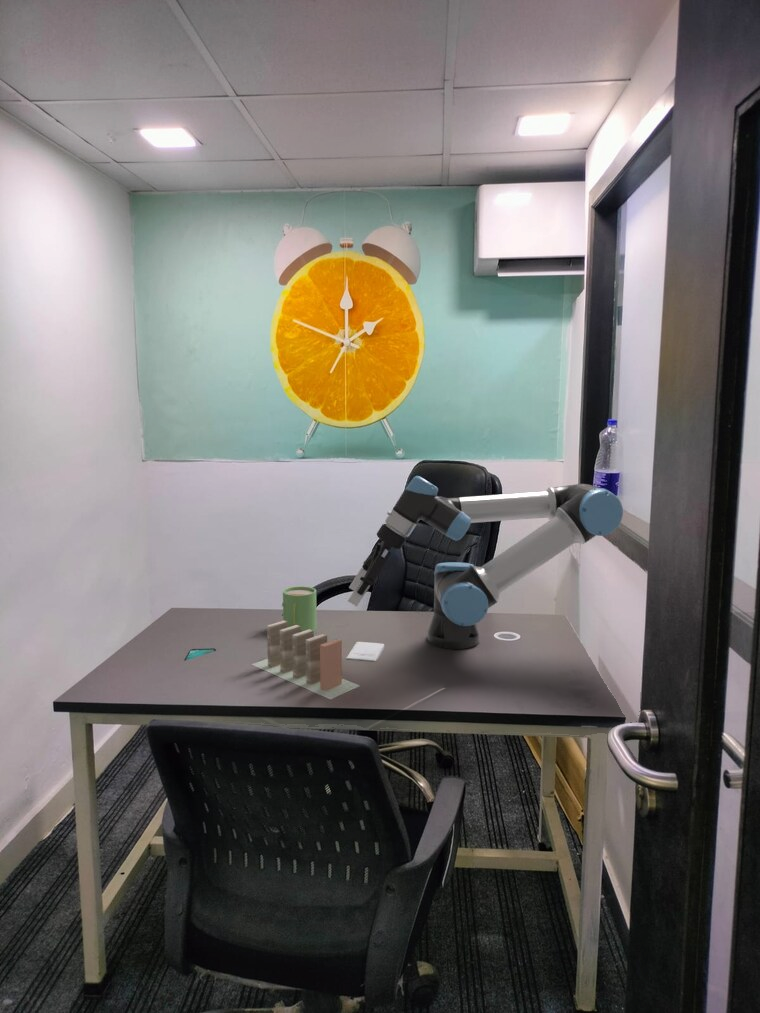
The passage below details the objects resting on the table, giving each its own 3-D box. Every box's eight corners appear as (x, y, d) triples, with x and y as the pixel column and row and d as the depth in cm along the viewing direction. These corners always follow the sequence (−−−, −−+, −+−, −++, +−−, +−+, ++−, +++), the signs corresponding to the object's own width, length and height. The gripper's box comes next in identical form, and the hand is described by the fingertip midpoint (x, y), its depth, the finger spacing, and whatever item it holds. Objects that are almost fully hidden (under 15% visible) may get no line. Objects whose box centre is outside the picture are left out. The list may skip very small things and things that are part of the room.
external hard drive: (384, 649, 183) (375, 665, 171) (356, 646, 185) (345, 663, 173) (384, 643, 183) (375, 659, 171) (356, 641, 185) (345, 657, 173)
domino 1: (267, 666, 167) (267, 625, 166) (284, 660, 172) (284, 620, 170) (271, 667, 166) (271, 627, 165) (288, 661, 170) (288, 621, 169)
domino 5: (320, 688, 154) (320, 645, 152) (337, 681, 158) (337, 638, 157) (324, 690, 153) (324, 646, 151) (341, 683, 157) (341, 640, 155)
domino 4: (306, 682, 157) (305, 639, 156) (323, 675, 162) (322, 633, 160) (310, 684, 156) (310, 641, 155) (327, 677, 160) (327, 635, 159)
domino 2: (280, 671, 164) (279, 630, 162) (297, 665, 168) (296, 624, 166) (284, 673, 163) (283, 631, 161) (301, 667, 167) (300, 626, 165)
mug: (287, 622, 204) (286, 585, 202) (319, 624, 202) (319, 587, 200) (275, 636, 191) (275, 597, 189) (310, 638, 190) (309, 598, 188)
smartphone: (178, 670, 165) (190, 648, 180) (178, 673, 165) (190, 651, 180) (206, 669, 166) (216, 648, 180) (206, 672, 166) (216, 650, 181)
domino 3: (293, 677, 161) (292, 634, 159) (309, 670, 165) (309, 629, 163) (297, 678, 160) (296, 636, 158) (314, 672, 164) (313, 630, 162)
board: (251, 666, 169) (251, 664, 169) (281, 655, 176) (281, 653, 176) (330, 701, 149) (330, 699, 149) (360, 688, 156) (360, 685, 156)
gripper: (382, 515, 182) (342, 578, 184) (385, 530, 157) (339, 602, 159) (404, 530, 183) (364, 591, 184) (411, 546, 158) (364, 617, 160)
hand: (352, 596), depth 172 cm, fingers open, 13 cm apart
